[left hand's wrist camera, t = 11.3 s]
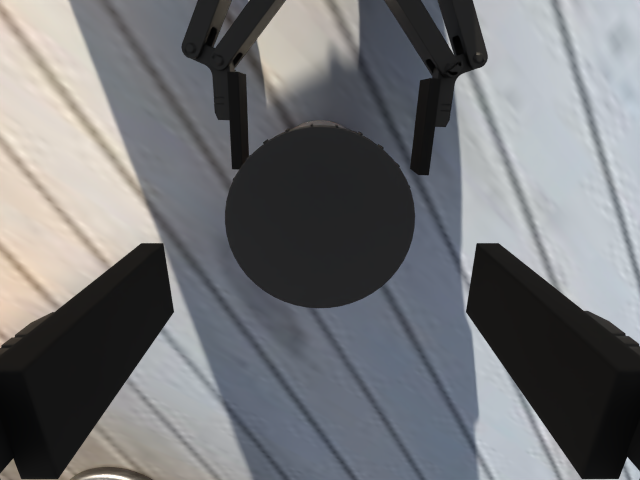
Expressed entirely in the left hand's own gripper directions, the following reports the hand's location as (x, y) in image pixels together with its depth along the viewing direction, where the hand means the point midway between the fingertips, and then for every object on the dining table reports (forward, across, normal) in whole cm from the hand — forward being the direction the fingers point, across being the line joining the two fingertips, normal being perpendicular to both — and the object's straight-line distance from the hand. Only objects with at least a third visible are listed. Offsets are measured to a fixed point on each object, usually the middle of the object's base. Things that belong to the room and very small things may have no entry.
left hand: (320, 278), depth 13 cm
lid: (+6, 0, 0) cm, 6 cm away
